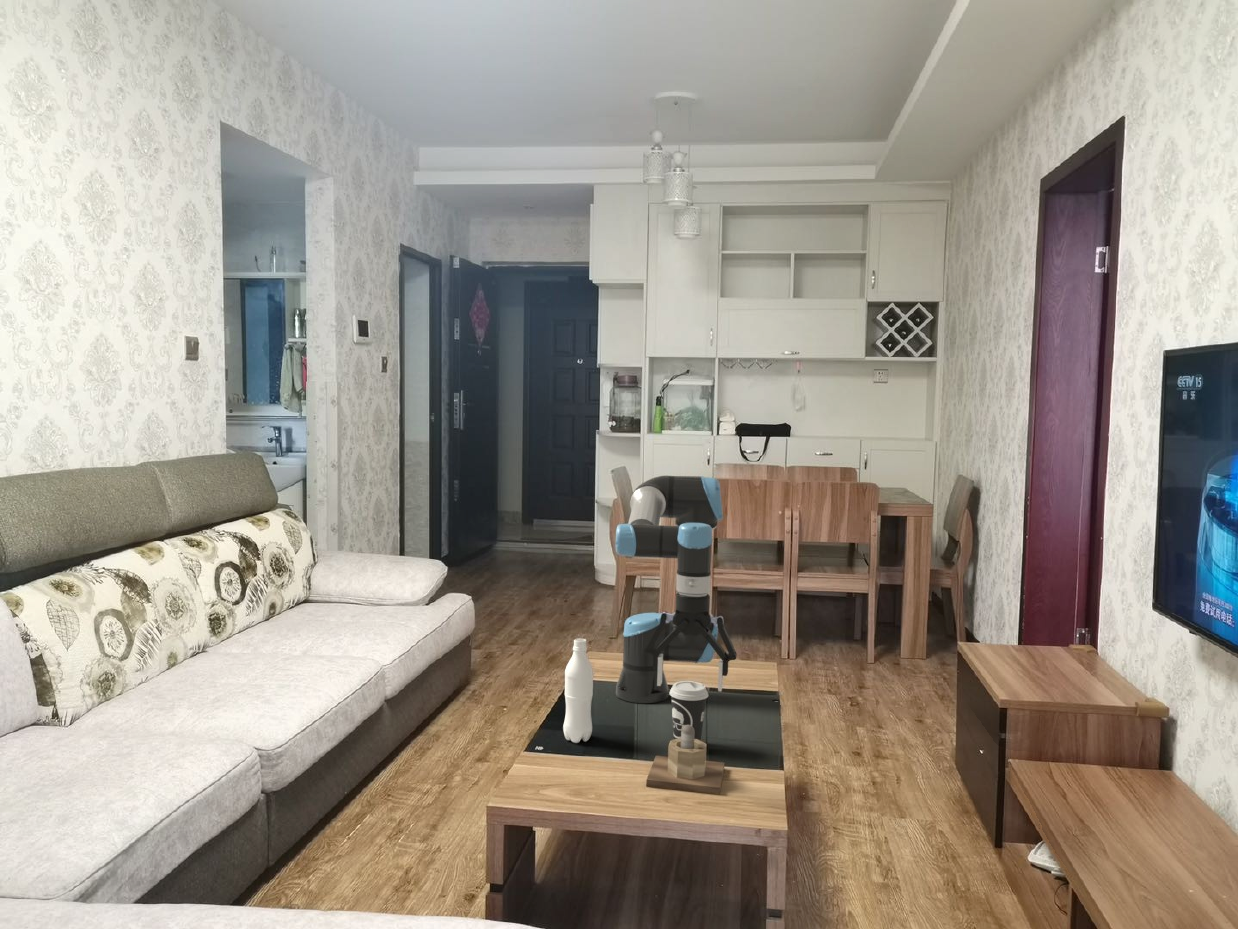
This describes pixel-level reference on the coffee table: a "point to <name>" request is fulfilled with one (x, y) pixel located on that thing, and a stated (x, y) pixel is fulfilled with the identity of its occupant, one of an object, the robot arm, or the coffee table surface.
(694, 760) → the collar
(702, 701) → the coffee cup
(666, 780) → the post base
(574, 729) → the water bottle
